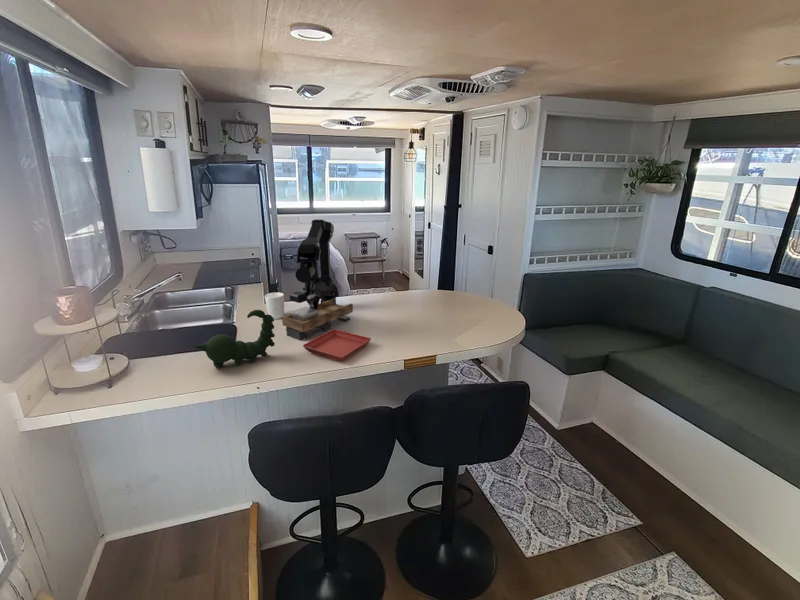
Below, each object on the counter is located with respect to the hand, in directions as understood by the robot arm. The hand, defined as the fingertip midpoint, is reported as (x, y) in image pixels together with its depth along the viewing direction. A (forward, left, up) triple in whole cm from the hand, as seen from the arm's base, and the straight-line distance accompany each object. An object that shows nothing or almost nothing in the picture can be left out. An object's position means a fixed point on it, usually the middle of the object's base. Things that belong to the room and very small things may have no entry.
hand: (314, 312), depth 169 cm
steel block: (+5, 0, -2) cm, 5 cm away
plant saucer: (+8, +21, -8) cm, 24 cm away
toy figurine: (+36, +2, -8) cm, 36 cm away
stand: (-2, 0, -7) cm, 7 cm away
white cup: (+1, -25, -7) cm, 26 cm away
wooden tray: (-2, 0, -3) cm, 4 cm away
